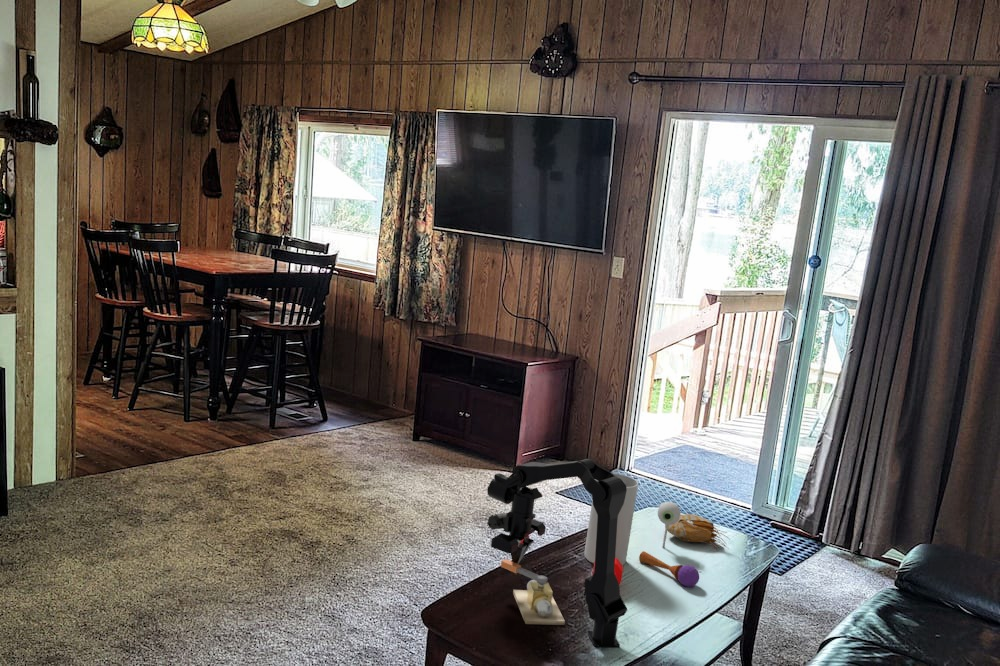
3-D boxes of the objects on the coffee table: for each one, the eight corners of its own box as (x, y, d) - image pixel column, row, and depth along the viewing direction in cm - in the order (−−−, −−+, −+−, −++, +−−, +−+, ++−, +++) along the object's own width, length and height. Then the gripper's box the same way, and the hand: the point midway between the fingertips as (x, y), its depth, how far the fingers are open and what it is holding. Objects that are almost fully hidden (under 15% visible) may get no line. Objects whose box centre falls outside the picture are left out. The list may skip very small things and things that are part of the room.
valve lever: (548, 583, 220) (549, 577, 220) (542, 586, 218) (543, 580, 218) (505, 564, 228) (506, 558, 228) (500, 566, 226) (500, 561, 226)
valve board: (564, 624, 214) (564, 621, 214) (525, 623, 212) (526, 620, 212) (549, 594, 230) (549, 591, 230) (513, 593, 228) (513, 589, 228)
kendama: (651, 547, 262) (705, 569, 247) (646, 566, 262) (700, 589, 246) (638, 546, 258) (693, 569, 243) (634, 566, 258) (688, 590, 243)
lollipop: (650, 548, 270) (658, 503, 268) (653, 540, 277) (660, 496, 275) (673, 554, 269) (681, 508, 266) (675, 546, 275) (683, 501, 273)
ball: (620, 582, 244) (624, 556, 242) (619, 594, 236) (623, 568, 235) (592, 576, 245) (596, 551, 244) (590, 588, 237) (594, 562, 236)
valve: (554, 620, 215) (557, 596, 214) (534, 620, 214) (538, 595, 213) (541, 594, 228) (544, 571, 227) (523, 593, 227) (526, 570, 226)
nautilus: (735, 550, 280) (713, 563, 269) (678, 523, 293) (655, 535, 282) (740, 528, 278) (718, 540, 267) (683, 502, 292) (660, 513, 280)
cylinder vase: (625, 571, 251) (638, 490, 247) (582, 563, 252) (594, 482, 249) (625, 555, 263) (638, 477, 259) (585, 547, 265) (596, 470, 261)
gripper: (514, 492, 236) (507, 545, 239) (476, 510, 221) (470, 566, 223) (549, 503, 231) (542, 558, 233) (513, 523, 215) (506, 581, 218)
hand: (515, 565), depth 227 cm, fingers closed
